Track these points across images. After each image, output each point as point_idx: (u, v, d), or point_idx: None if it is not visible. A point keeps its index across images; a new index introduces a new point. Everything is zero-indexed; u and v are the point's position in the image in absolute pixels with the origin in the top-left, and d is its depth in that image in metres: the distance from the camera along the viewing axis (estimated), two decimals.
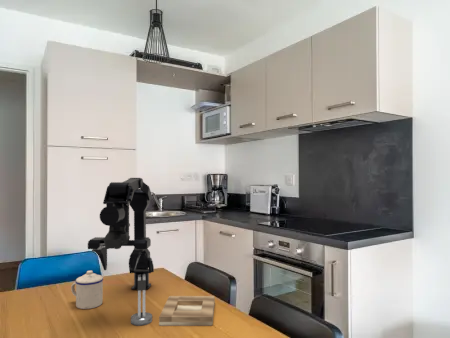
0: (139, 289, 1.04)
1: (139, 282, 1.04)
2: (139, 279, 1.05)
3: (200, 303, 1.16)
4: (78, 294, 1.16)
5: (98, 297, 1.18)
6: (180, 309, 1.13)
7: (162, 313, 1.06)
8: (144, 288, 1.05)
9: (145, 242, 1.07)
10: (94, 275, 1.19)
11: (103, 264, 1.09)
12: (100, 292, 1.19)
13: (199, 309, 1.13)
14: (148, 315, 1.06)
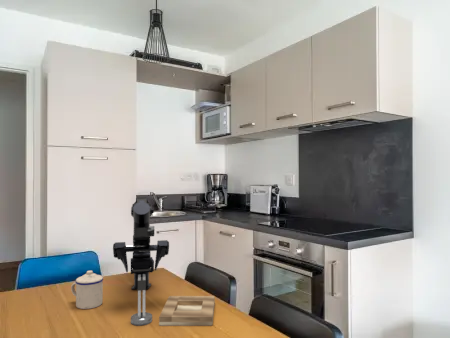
0: (139, 289, 1.04)
1: (139, 282, 1.04)
2: (139, 279, 1.05)
3: (200, 303, 1.16)
4: (78, 294, 1.16)
5: (98, 297, 1.18)
6: (180, 309, 1.13)
7: (162, 313, 1.06)
8: (144, 288, 1.05)
9: (167, 241, 1.21)
10: (94, 275, 1.19)
11: (126, 264, 1.14)
12: (100, 292, 1.19)
13: (199, 309, 1.13)
14: (148, 315, 1.06)
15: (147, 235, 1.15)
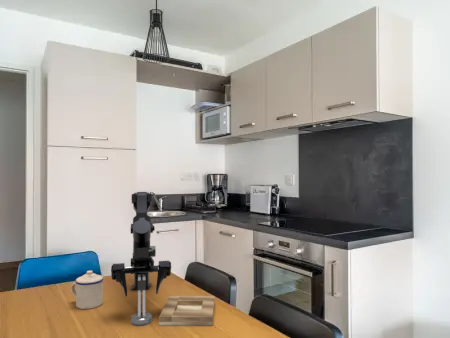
0: (139, 289, 1.04)
1: (139, 282, 1.04)
2: (139, 279, 1.05)
3: (200, 303, 1.16)
4: (78, 294, 1.16)
5: (98, 297, 1.18)
6: (180, 309, 1.13)
7: (162, 313, 1.06)
8: (144, 288, 1.05)
9: (169, 261, 1.13)
10: (94, 275, 1.19)
11: (125, 288, 1.06)
12: (100, 292, 1.19)
13: (199, 309, 1.13)
14: (148, 315, 1.06)
15: (148, 256, 1.08)
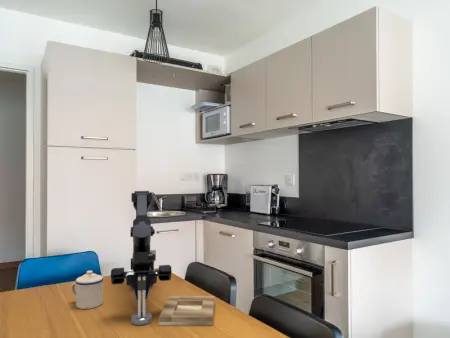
0: (139, 289, 1.04)
1: (139, 282, 1.04)
2: (139, 279, 1.05)
3: (200, 303, 1.16)
4: (78, 294, 1.16)
5: (98, 297, 1.18)
6: (180, 309, 1.13)
7: (162, 313, 1.06)
8: (144, 288, 1.05)
9: (169, 265, 1.12)
10: (94, 275, 1.19)
11: (136, 292, 1.05)
12: (100, 292, 1.19)
13: (199, 309, 1.13)
14: (148, 315, 1.06)
15: (148, 260, 1.06)
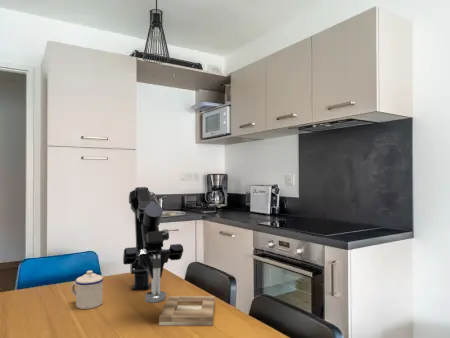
0: (154, 267, 1.06)
1: (154, 260, 1.06)
2: (154, 257, 1.06)
3: (200, 303, 1.16)
4: (78, 294, 1.16)
5: (98, 297, 1.18)
6: (180, 309, 1.13)
7: (162, 313, 1.06)
8: (159, 266, 1.06)
9: None
10: (94, 275, 1.19)
11: (151, 270, 1.06)
12: (100, 292, 1.19)
13: (199, 309, 1.13)
14: (162, 293, 1.08)
15: (162, 239, 1.08)
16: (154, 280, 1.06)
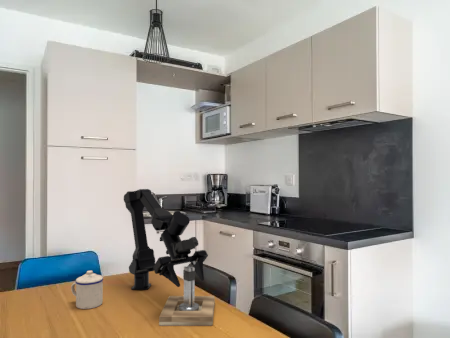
0: (190, 280, 1.10)
1: (190, 273, 1.10)
2: (190, 270, 1.10)
3: (200, 303, 1.16)
4: (78, 294, 1.16)
5: (98, 297, 1.18)
6: None
7: (162, 313, 1.06)
8: (194, 278, 1.11)
9: (204, 250, 1.20)
10: (94, 275, 1.19)
11: (177, 279, 1.08)
12: (100, 292, 1.19)
13: (199, 309, 1.13)
14: (194, 304, 1.13)
15: (194, 246, 1.13)
16: (189, 292, 1.10)
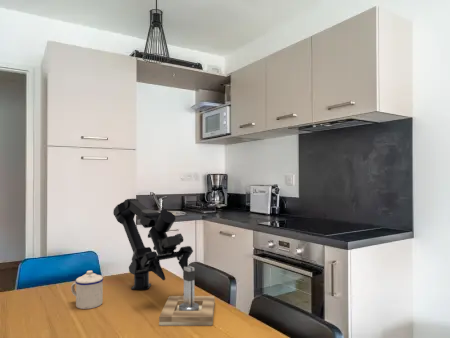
0: (190, 280, 1.10)
1: (190, 273, 1.10)
2: (189, 270, 1.10)
3: (200, 303, 1.16)
4: (78, 294, 1.16)
5: (98, 297, 1.18)
6: None
7: (162, 313, 1.06)
8: (193, 278, 1.11)
9: None
10: (94, 275, 1.19)
11: (162, 273, 1.16)
12: (100, 292, 1.19)
13: (199, 309, 1.13)
14: (194, 304, 1.13)
15: (179, 242, 1.20)
16: (189, 292, 1.10)
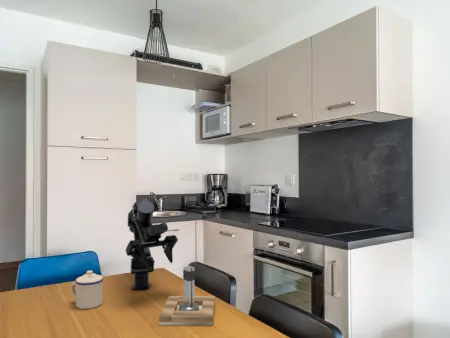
0: (190, 280, 1.10)
1: (190, 273, 1.10)
2: (189, 270, 1.10)
3: (200, 303, 1.16)
4: (78, 294, 1.16)
5: (98, 297, 1.18)
6: None
7: (162, 313, 1.06)
8: (193, 278, 1.11)
9: None
10: (94, 275, 1.19)
11: (146, 260, 1.19)
12: (100, 292, 1.19)
13: (199, 309, 1.13)
14: (194, 304, 1.13)
15: (163, 230, 1.23)
16: (189, 292, 1.10)
